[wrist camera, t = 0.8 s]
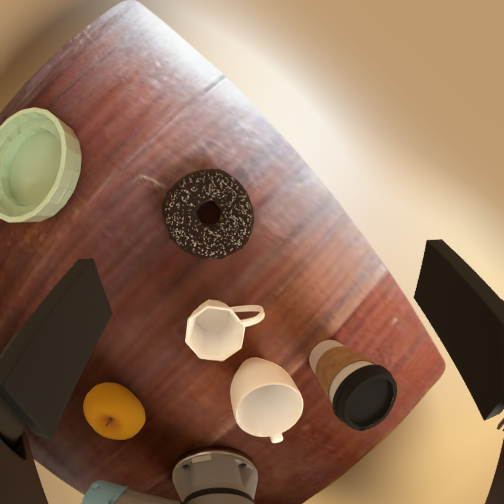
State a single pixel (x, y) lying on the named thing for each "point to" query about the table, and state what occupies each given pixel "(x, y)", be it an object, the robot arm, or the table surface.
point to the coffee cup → (353, 385)
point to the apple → (113, 411)
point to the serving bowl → (36, 165)
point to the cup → (218, 329)
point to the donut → (208, 235)
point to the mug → (265, 399)
